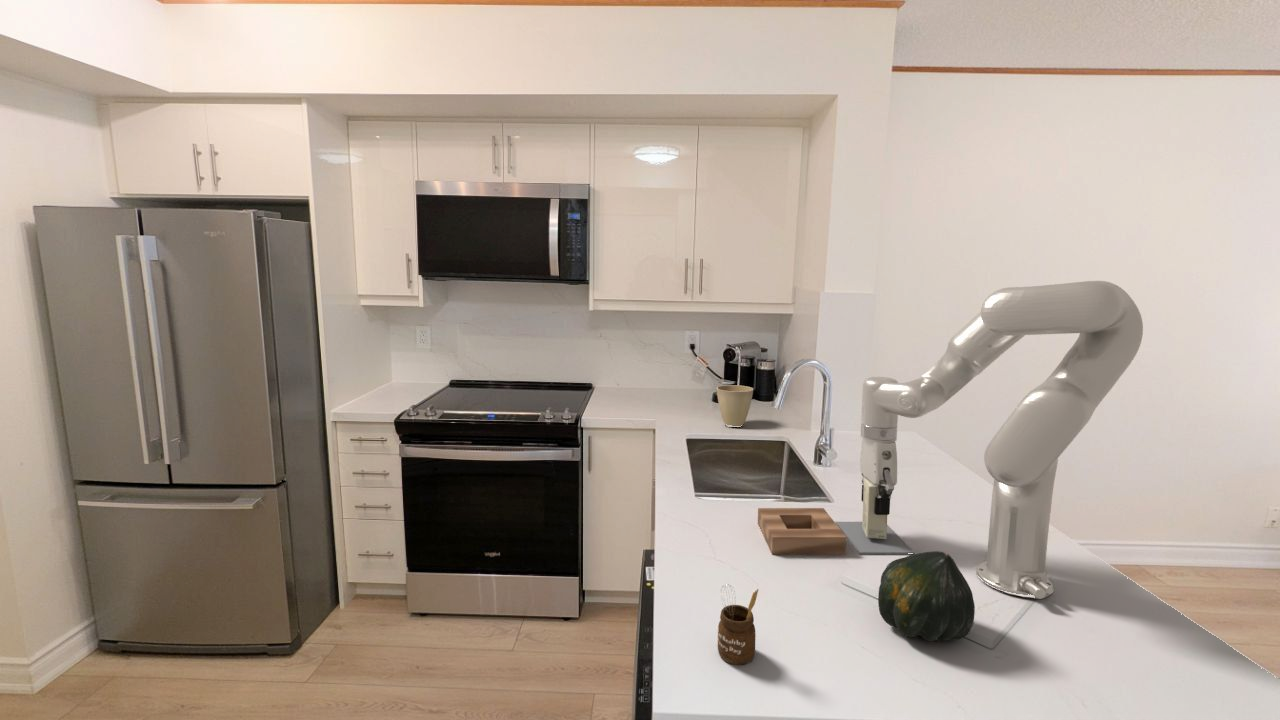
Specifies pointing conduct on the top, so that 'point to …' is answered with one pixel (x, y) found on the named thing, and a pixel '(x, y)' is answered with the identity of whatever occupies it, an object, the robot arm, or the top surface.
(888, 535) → the slate mat
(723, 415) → the plant pot
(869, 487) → the skincare box
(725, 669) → the top surface
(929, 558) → the squash
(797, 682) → the top surface
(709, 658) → the top surface
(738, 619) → the utensil holder
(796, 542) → the pocket block
